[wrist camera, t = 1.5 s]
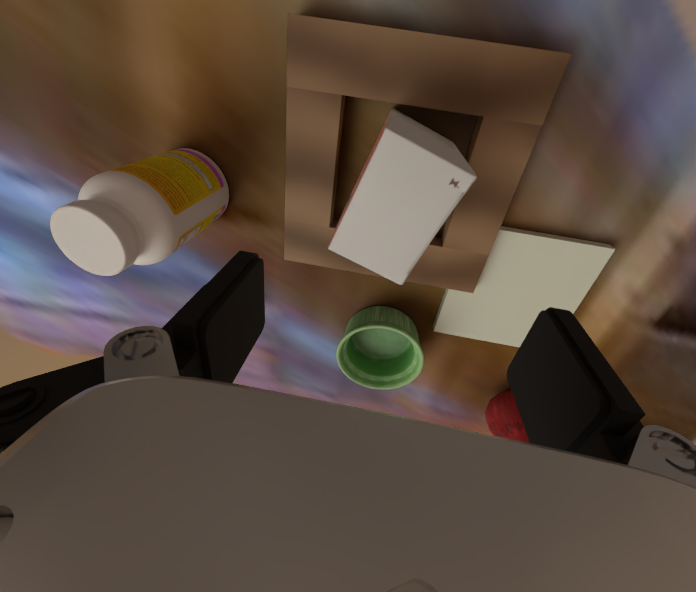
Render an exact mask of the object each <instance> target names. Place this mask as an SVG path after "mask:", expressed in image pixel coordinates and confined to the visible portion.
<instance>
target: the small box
mask: <svg viewBox="0 0 696 592" xmlns="http://www.w3.org/2000/svg"><path fill="white" fill-rule="evenodd" d="M476 179H477V176H476V174H475V172H474V171H473V169H472V168H471V166H470V165H469V164H468V162H467V161H466V160H465V158H464V157H463V156H462V154H461V153H460V151H459V150H458V148H457V147H456V145H455V144H454V142H453V141H451V140H449V139H447V138H445V137H443V136H442V135H440V134H438V133H437V132H435V131H433V130H431V129H430V128H428V127H426V126H424V125H422V124H421V123H419V122H417V121H415V120H414V119H412V118H410V117H408V116H407V115H405V114H403V113H401V112H400V111H398V110H396V109H394V108H391V110H390V113H389V115H388V117H387V119H386V121H385V123H384V125H383V127H382V130H381V132H380V134H379V136H378V138H377V140H376V142H375V144H374V146H373V148H372V150H371V152H370V154H369V156H368V158H367V160H366V163H365V165H364V167H363V169H362V171H361V173H360V175H359V178H358V180H357V182H356V184H355V186H354V188H353V190H352V192H351V194H350V197H349V199H348V201H347V203H346V206H345V208H344V210H343V212H342V215H341V217H340V219H339V222H338V224H337V226H336V228H335V231H334V233H333V235H332V238H331V240H330V242H329V245H328V249H329V250H331V251H333V252H335V253H337V254H339V255H341V256H343V257H345V258H347V259H349V260H351V261H353V262H355V263H357V264H359V265H361V266H363V267H365V268H367V269H369V270H371V271H373V272H375V273H377V274H379V275H381V276H383V277H385V278H387V279H389V280H391V281H393V282H395V283H397V284H399V285H403V283H404V282H405V280H406V279H407V277H408V275H409V274H410V272H411V270H412V269H413V267H414V266H415V264H416V263H417V261H418V260H419V258H420V257H421V256H422V254H423V253H424V251H425V250H426V248H427V247H428V245H429V244H430V242H431V241H432V239H433V238H434V236H435V235H436V234H437V232H438V231H439V229H440V228H441V226H442V225H443V224H444V222H445V221H446V219H447V218H448V216H449V215H450V213H451V212H452V211H453V209H454V208H455V207H456V205H457V204H458V202H459V201H460V200H461V198H462V197H463V196H464V194H465V193H466V192H467V191H468V189H469V188H470V187H471V185H472V184H473V183H474V181H475V180H476Z"/></svg>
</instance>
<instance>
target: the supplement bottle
mask: <svg viewBox="0 0 696 592" xmlns="http://www.w3.org/2000/svg"><path fill="white" fill-rule="evenodd" d="M228 201H229V189H228V184H227V181H226V179H225V177H224V175H223V173H222V171H221V170H220V168H219V167H218V166H217V165H216V164H215V163H214V162H213V161H212V160H211V159H210V158H209V157H207V156H206V155H204V154H203V153H201V152H199V151H196V150H193V149H188V148H179V149H174V150H170V151H167V152H164V153H161V154H158V155H155V156H152V157H149V158H146V159H143V160H140V161H137V162H134V163H131V164H128V165H125V166H122V167H119V168H116V169H112V170H109V171H106V172H103V173H100V174H97V175H95V176H93V177H92V178H90V179H89V180H88V181H87V182H86V183H85V184H84V185H83V186H82V188H81V190H80V193H79V196H78V200H77V201H74V202H72V203H69V204H67V205H64V206H62V207H60V208H58V209H57V210H56V211H55V212H54V213H53V214H52V217H51V222H50V226H51V232H52V235H53V237H54V239H55V241H56V243H57V245H58V246H59V248H60V249H61V250H62V252H63V253H64V254H65V255H66V256H67V257H68V258H69V259H70V260H71V261H73V262H74V263H75V264H76V265H78V266H79V267H81V268H83V269H84V270H86V271H88V272H91V273H93V274H97V275H102V276H112V275H115V274H118V273H120V272H121V271H123V270H124V269H126V268H128V267H130V266H131V265H132V264H136V265H150V264H155V263H158V262H160V261H162V260H164V259H165V258H167V257H168V256H170V255H171V254H172V253H173V252H175V251H176V250H177V249H178V248H180V247H181V246H182V245H184V244H185V243H186V242H187V241H189V240H190V239H191V238H193V237H194V236H195V235H197V234H198V233H199V232H201V231H202V230H203V229H205V228H206V227H207V226H209V225H210V224H211V223H212V222H214V221H215V220H216V219H218V218H219V217H220V216H221V215H222V214H223V212H224V211H225V210H226V208H227V205H228Z"/></svg>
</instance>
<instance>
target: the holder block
mask: <svg viewBox="0 0 696 592" xmlns="http://www.w3.org/2000/svg"><path fill="white" fill-rule="evenodd" d="M571 55H572V54H570V53H563V52H556V51H549V50H542V49H535V48H528V47H521V46H514V45H507V44H500V43H493V42H486V41H479V40H472V39H465V38H458V37H451V36H444V35H437V34H430V33H423V32H416V31H409V30H402V29H395V28H388V27H381V26H374V25H367V24H360V23H353V22H346V21H339V20H332V19H325V18H318V17H311V16H303V15H296V14H289V13H288V27H287V100H286V172H285V245H284V260H290V261H295V262H301V263H307V264H312V265H318V266H323V267H329V268H335V269H340V270H346V271H351V272H357V273H362V274H368V275H374V276H379V277H383V276H381V275H379V274H377V273H375V272H373V271H371V270H369V269H367V268H365V267H363V266H361V265H359V264H357V263H355V262H353V261H351V260H349V259H347V258H345V257H343V256H341V255H339V254H337V253H335V252H333V251H331V250H329V249H328V245H329V242H330V240H331V238H332V235H333V233H334V231H335V228H336V226H337V224H338V222H339V220H334V219H333V216H334V207H335V197H336V187H337V177H338V167H339V157H340V148H341V138H342V128H343V118H344V108H345V98H346V96H352V97H358V98H365V99H371V100H378V101H384V102H391V103H397V104H404V105H410V106H417V107H423V108H430V109H436V110H443V111H450V112H456V113H463V114H469V115H476V116H478V117H477V120H476V124H475V127H474V130H473V133H472V137H471V140H470V143H469V146H468V150H467V153H466V156H465V160H466V161H467V162H468V164H469V165H470V166H471V168H472V169H473V171H474V172H475V174H476V176H477V179H476V180H475V181H474V183H473V184H472V185H471V187H470V188H469V189H468V191H467V192H466V193H465V194H464V196H463V197H462V198H461V200H460V201H459V202H458V204H457V205H456V207H455V208H454V209H453V211H452V212H451V213H450V215H449V216H448V218H447V219H446V221H445V225H444V228H443V231H442V234H441V238H439V237H434V238H433V239H432V241H431V242H430V244H429V245H428V247H427V248H426V250H425V251H424V253H423V254H422V256H421V257H420V258H419V260H418V261H417V263H416V264H415V266H414V267H413V269H412V270H411V272H410V274H409V275H408V277H407V279H406V280H405V281H407V282H413V283H418V284H424V285H430V286H435V287H441V288H446V289H452V290H457V291H463V292H469V293H474V290H475V288H476V285H477V283H478V281H479V278H480V276H481V273H482V271H483V268H484V266H485V264H486V261H487V259H488V256H489V254H490V251H491V249H492V247H493V244H494V242H495V239H496V237H497V234H498V232H499V230H500V227H501V225H502V222H503V220H504V217H505V215H506V213H507V210H508V208H509V205H510V203H511V200H512V198H513V196H514V193H515V191H516V188H517V186H518V183H519V181H520V179H521V176H522V174H523V171H524V169H525V166H526V164H527V162H528V159H529V157H530V154H531V152H532V149H533V147H534V145H535V142H536V140H537V137H538V135H539V132H540V130H541V128H542V125H543V123H544V120H545V118H546V116H547V113H548V111H549V108H550V106H551V103H552V101H553V99H554V96H555V94H556V91H557V89H558V86H559V84H560V82H561V79H562V77H563V74H564V72H565V69H566V67H567V65H568V62H569V60H570V57H571Z"/></svg>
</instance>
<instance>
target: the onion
mask: <svg viewBox="0 0 696 592" xmlns="http://www.w3.org/2000/svg"><path fill="white" fill-rule="evenodd" d="M485 414H486V421H487V424H488V427H489V429H490V431H491V433H492V434H493V435H494V436H498V437H503V438H507V439H512V440H517V441H522V442H526V443H530V442H529V439H528V436H527V434H526V431H525V428H524V425H523V422H522V419H521V416H520V413H519V410H518V408H517V405H516V402H515V399H514V396H513V393H512V391H504V392H501V393H498V394H497V395H496V396H494V397H493V398H492V399H491V400H490V402H489V404H488V406H487V408H486V411H485Z"/></svg>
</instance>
